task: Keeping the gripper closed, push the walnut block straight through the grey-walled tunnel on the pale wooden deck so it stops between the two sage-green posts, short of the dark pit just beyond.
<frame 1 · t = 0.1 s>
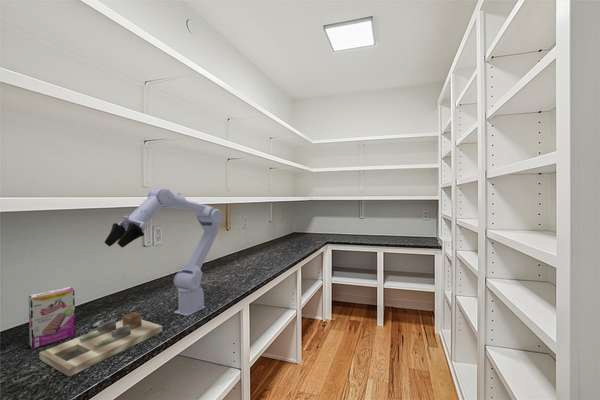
hand: (113, 244, 90), 32 cm above the countertop, tool tilted 50°, fingers open, 7 cm apart
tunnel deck: (106, 344, 90), on the countertop
candy bar box: (53, 341, 93), on the countertop
walnut block: (132, 326, 97), point 2 cm above the countertop, touching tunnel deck
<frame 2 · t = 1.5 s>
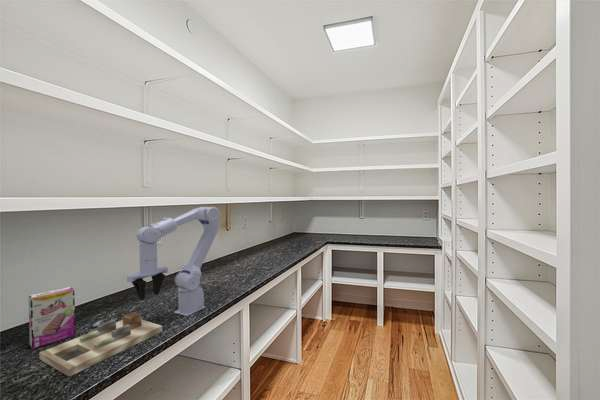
hand: (149, 296, 103), 10 cm above the countertop, tool pointing down, fingers open, 5 cm apart
nothing on the countertop moved.
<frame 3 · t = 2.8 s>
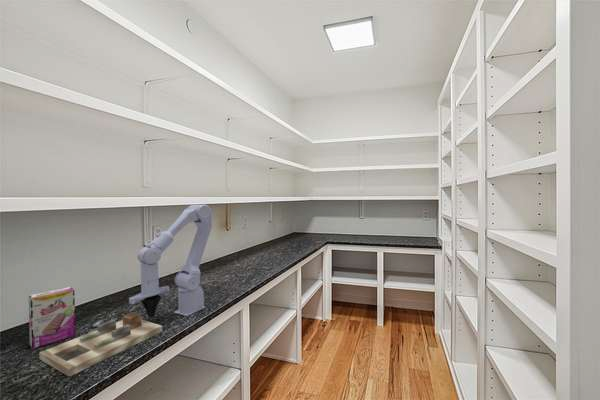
hand: (151, 316, 103), 3 cm above the countertop, tool pointing down, fingers closed
nothing on the countertop moved.
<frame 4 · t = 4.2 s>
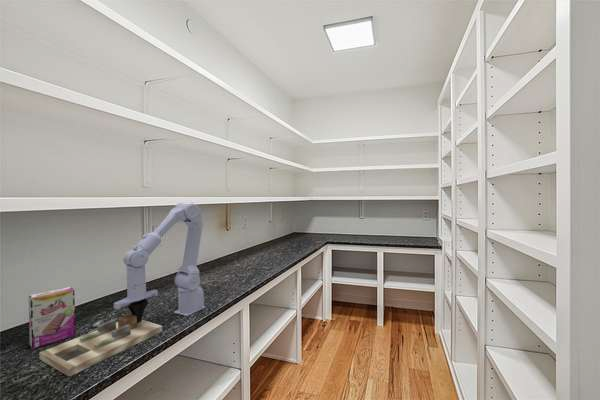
hand: (137, 322, 99), 3 cm above the countertop, tool pointing down, fingers closed
walnut block: (127, 328, 96), point 2 cm above the countertop
everything else where it was.
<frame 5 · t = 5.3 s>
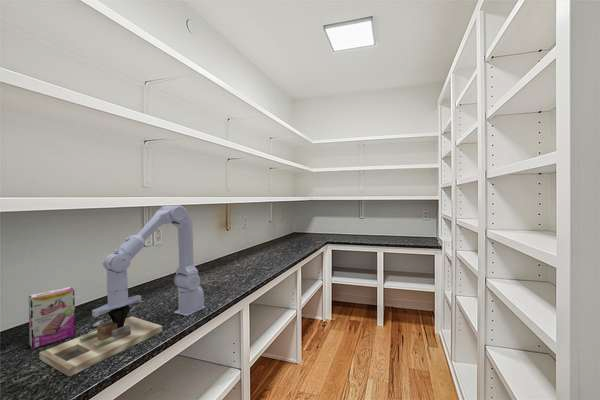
hand: (119, 329, 93), 3 cm above the countertop, tool pointing down, fingers closed
walnut block: (107, 337, 90), point 2 cm above the countertop, touching gripper
everything else where it was.
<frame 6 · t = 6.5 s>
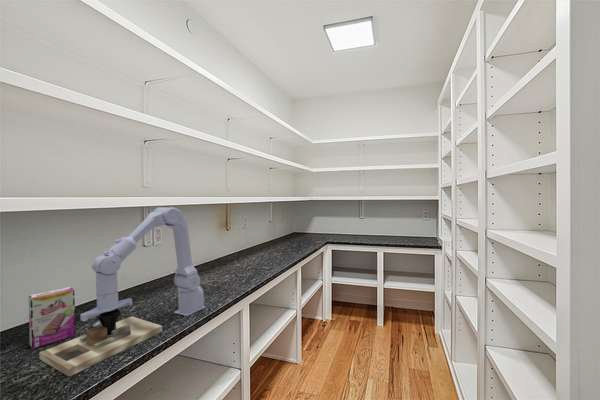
hand: (109, 334, 91), 3 cm above the countertop, tool pointing down, fingers closed
walnut block: (97, 341, 88), point 2 cm above the countertop, touching gripper, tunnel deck
everything else where it was.
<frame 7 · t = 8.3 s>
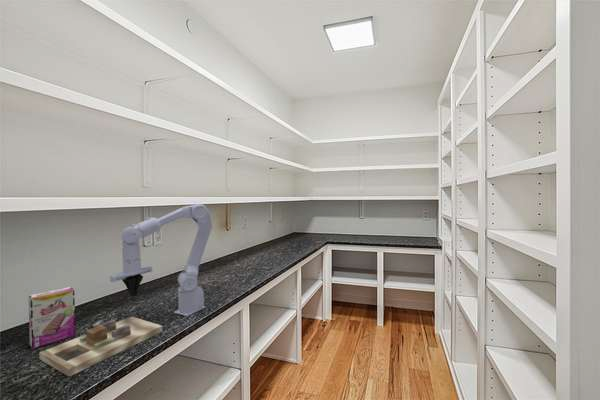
hand: (133, 295, 104), 10 cm above the countertop, tool pointing down, fingers closed
walnut block: (97, 341, 88), point 2 cm above the countertop, touching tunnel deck
everything else where it was.
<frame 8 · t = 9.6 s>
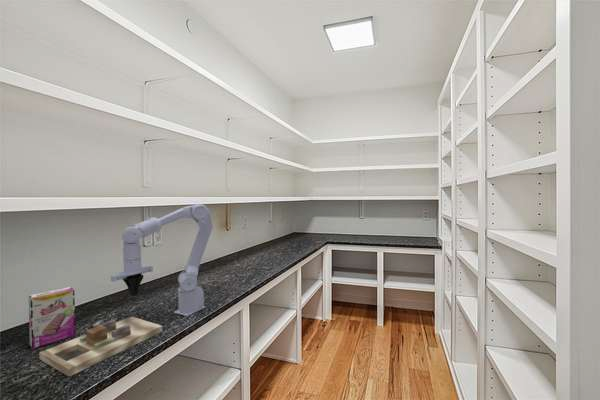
hand: (133, 295, 105), 10 cm above the countertop, tool pointing down, fingers closed
nothing on the countertop moved.
at the end: walnut block 0.2 cm from the target spot, point 2.0 cm above the countertop; walnut block tilted 0° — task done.
